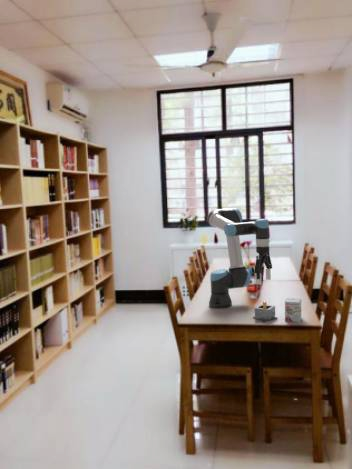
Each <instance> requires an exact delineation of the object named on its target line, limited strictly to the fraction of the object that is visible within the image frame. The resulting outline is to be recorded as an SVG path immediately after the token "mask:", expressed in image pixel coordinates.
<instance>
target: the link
mask: <svg viewBox="0 0 352 469" xmlns="http://www.w3.org/2000/svg"><path fill="white" fill-rule="evenodd" d="M266 306H267V309H264V308H263V303H262V304H261V303H260V304H259V305H257V306H256V307H254V316H255V318H258V319H265V320H270V319H272V318H273V317H274V316H275V317H276V305H271V304H266ZM255 318H254V319H255ZM270 321H271V320H270Z"/></svg>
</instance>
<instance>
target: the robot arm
mask: <svg viewBox="0 0 352 469" xmlns="http://www.w3.org/2000/svg"><path fill="white" fill-rule="evenodd" d="M206 219H207V220H206V221H207V223H208V224H209V226H211V227H213V228H218V229H220V230H222V231H223V233H224V234H225V236H226V244H227V250H228V257H229V265H230V266H229V267H228V269H225V268H224V269H217V270H213V271H211V273H210V297H209V301H208V306H209V307H210V308H213V309H226V308H231V307H232V306H233V302H232V299H231V295H230V294H229V292H230V291H229V290H231V289H240V288H246V287H248V286H249V285H250V283H251V272H250V270H249V269H248V268H247V266H246V265H245V264H244V261H243V254H242V246H241V240H240V236H250V235H255V246H256V247H255V248H256V249H255V251H256V253H257V254H258V255H256V257H255V259H256V260H255V265H254V270H253V272H254V274H256V279H255V280H256V285H260V286H261V285H262V284H263V282H262V280H263V279H262V269H263V264H264V267H265V280H266V281H267V280H269V281H270V280H272V278H271V277H272V274H271V269H273V264H272V260H271V256H270V252H271V251H270V243H271V242H270V224H269V220H268V219H267V218H259V219H258V218H257V219H255V221H254V220H252V221H247V222H246V221H245V222H243V215H242V212H241V210H240V209H238V208H237V207H236V208H235V207H228V208H216V209H213V210H211V211H210V212H209V213H208V214H207V217H206Z"/></svg>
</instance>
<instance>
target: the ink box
mask: <svg viewBox="0 0 352 469" xmlns="http://www.w3.org/2000/svg"><path fill="white" fill-rule="evenodd" d="M284 318H285V319H284V321H285V322H291V323H301V321H302V298H291V297H286V299H285V301H284Z"/></svg>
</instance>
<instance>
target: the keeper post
mask: <svg viewBox="0 0 352 469" xmlns="http://www.w3.org/2000/svg"><path fill="white" fill-rule="evenodd" d="M262 305H263V308H264V309H267V306H266V305H267V301H262ZM252 318H253V319H254V320H255V319H256V320H258V321H260V322H262V323H264V322H269V321H274V320H277V319H278V317H277V316H276V315H275V316H274V317H273V318H272V319H270V320H265V319H258V318H255V315H254V316H252Z"/></svg>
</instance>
